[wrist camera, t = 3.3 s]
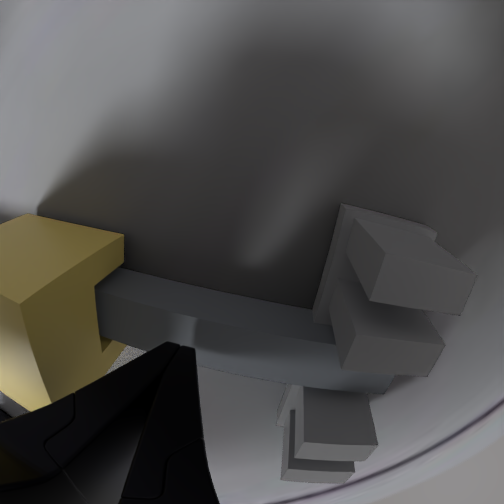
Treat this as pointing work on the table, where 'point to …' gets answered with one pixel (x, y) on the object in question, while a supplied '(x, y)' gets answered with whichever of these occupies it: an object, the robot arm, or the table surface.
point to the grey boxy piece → (369, 334)
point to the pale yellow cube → (53, 307)
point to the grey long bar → (227, 331)
